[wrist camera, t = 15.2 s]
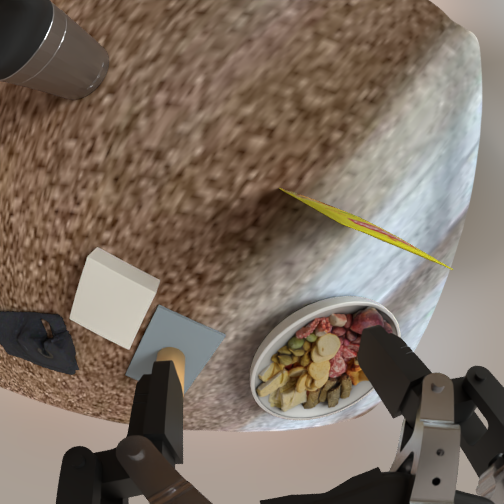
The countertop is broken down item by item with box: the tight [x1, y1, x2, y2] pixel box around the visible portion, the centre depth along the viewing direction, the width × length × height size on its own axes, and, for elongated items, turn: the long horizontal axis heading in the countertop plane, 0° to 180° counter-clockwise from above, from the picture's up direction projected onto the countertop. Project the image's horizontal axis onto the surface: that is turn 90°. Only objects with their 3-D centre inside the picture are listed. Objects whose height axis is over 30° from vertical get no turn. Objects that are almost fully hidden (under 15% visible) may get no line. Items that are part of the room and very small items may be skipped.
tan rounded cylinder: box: [156, 347, 185, 398], centre depth 41 cm, size 5×5×9 cm
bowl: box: [250, 296, 401, 420], centre depth 47 cm, size 30×30×8 cm
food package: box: [279, 188, 453, 270], centre depth 31 cm, size 15×1×20 cm, turn 71°
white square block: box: [69, 247, 160, 349], centre depth 38 cm, size 11×12×4 cm
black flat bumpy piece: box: [0, 311, 79, 375], centre depth 39 cm, size 15×22×5 cm
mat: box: [126, 305, 225, 394], centre depth 45 cm, size 12×18×1 cm, turn 148°
